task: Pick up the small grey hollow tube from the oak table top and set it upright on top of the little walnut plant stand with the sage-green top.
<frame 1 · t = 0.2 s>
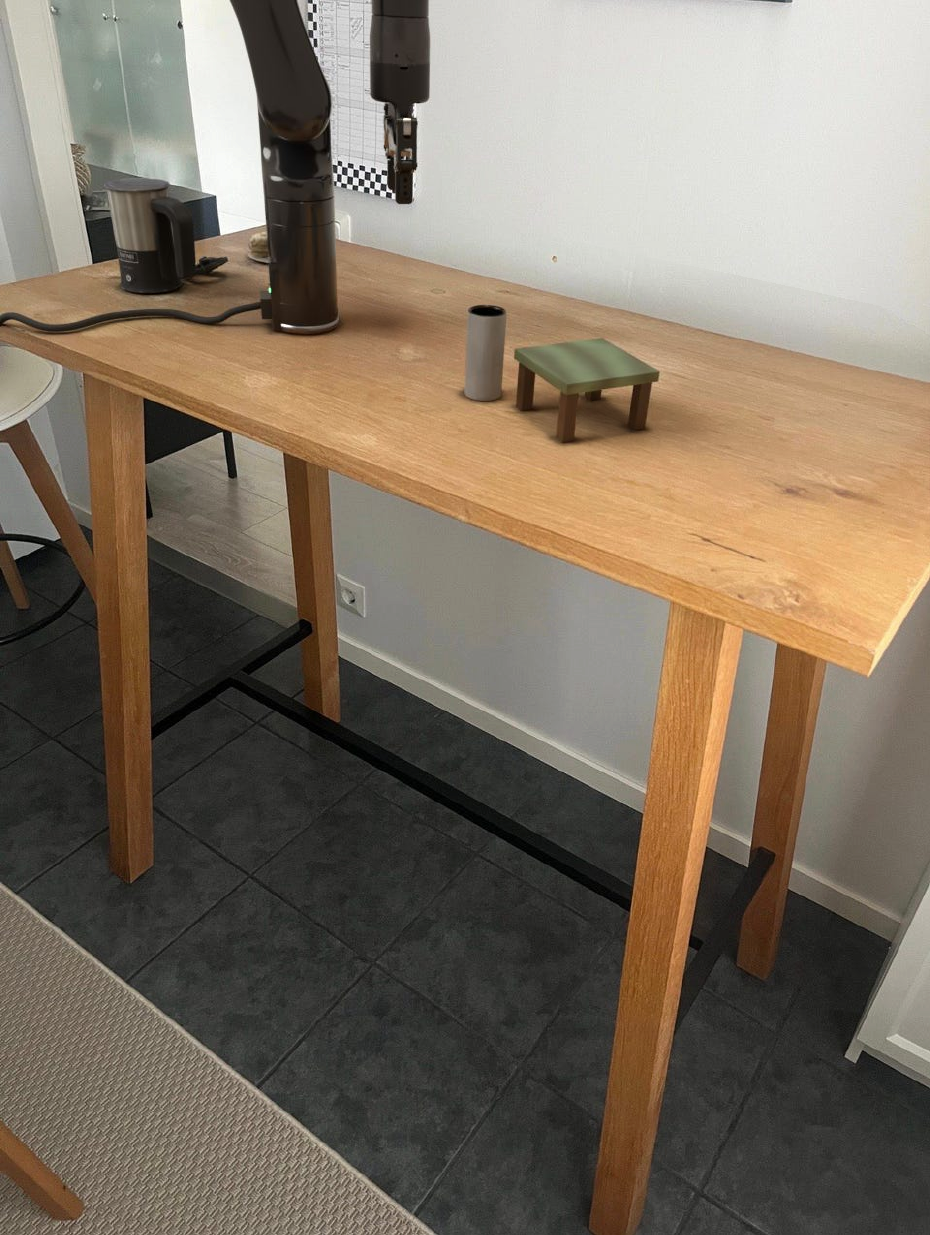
hand: (399, 196, 132), 17 cm above the table, tool pointing down, fingers open, 8 cm apart
plant stand: (579, 417, 116), on the table
milk frother: (176, 283, 154), on the table
grey hollow tube: (482, 396, 120), on the table
cake: (277, 259, 168), on the table
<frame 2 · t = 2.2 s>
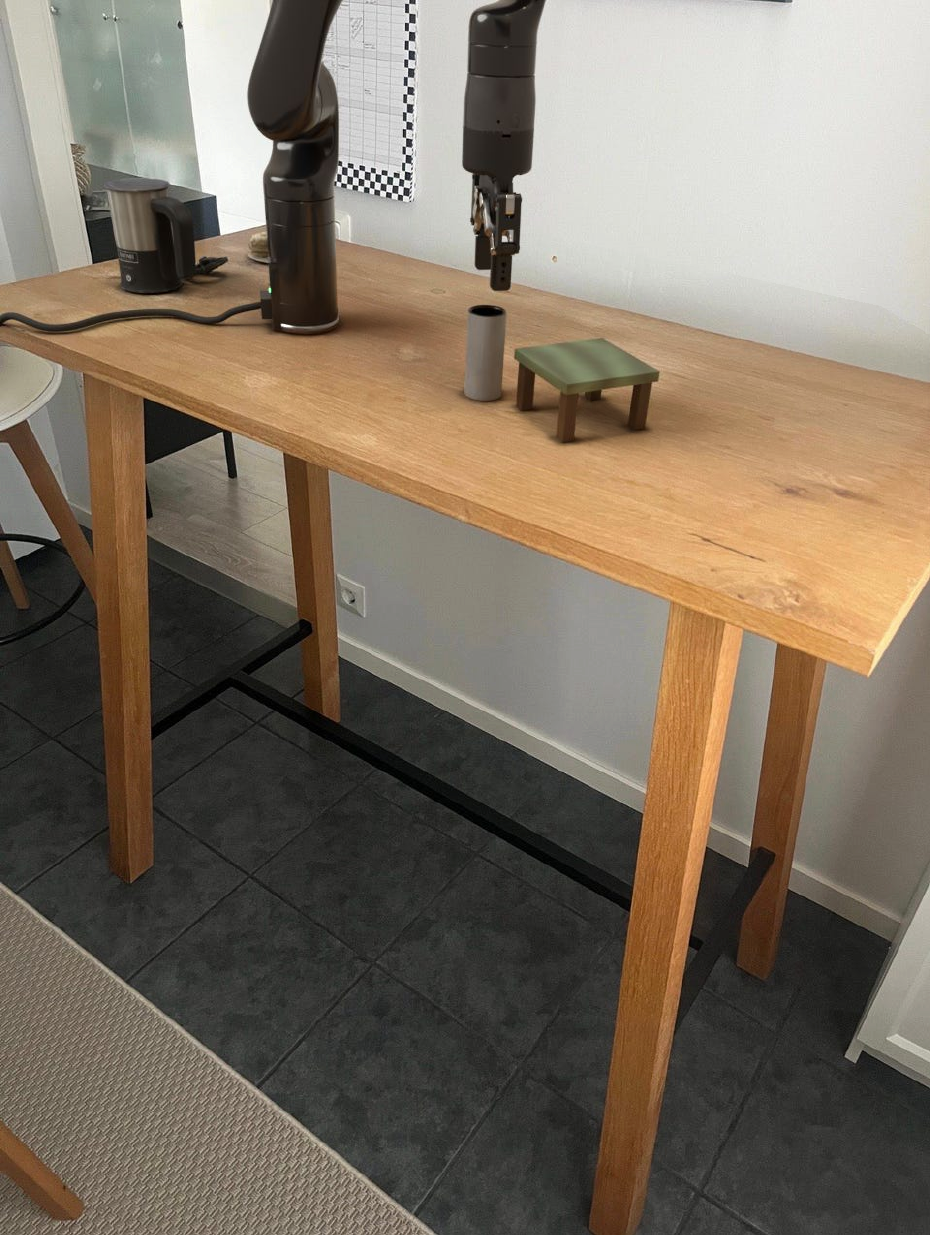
hand: (491, 279, 113), 14 cm above the table, tool pointing down, fingers open, 8 cm apart
nothing on the table moved.
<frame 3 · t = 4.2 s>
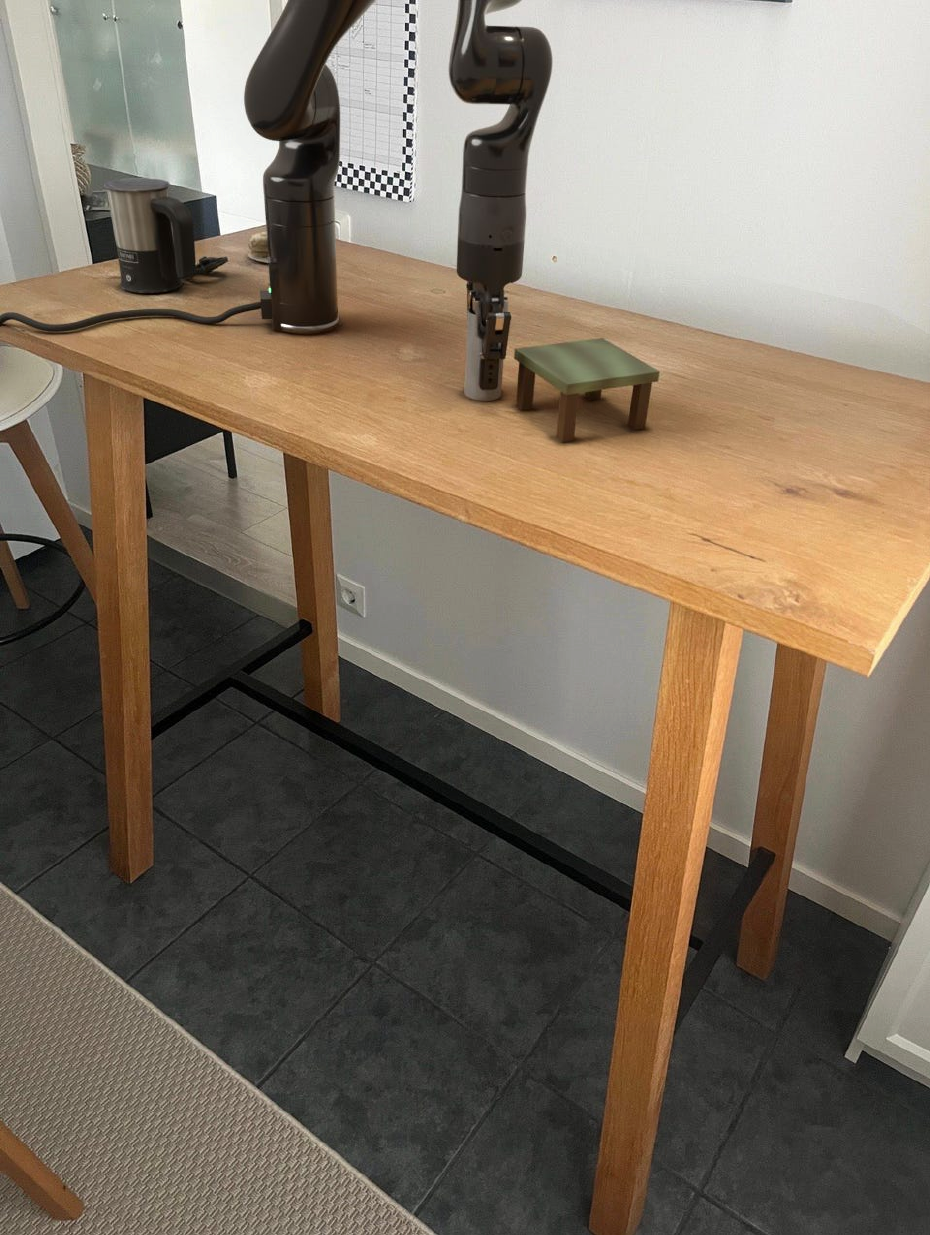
hand: (483, 380, 119), 2 cm above the table, tool pointing down, fingers closed on grey hollow tube, 4 cm apart
grey hollow tube: (482, 396, 120), on the table, touching gripper
everything else where it was.
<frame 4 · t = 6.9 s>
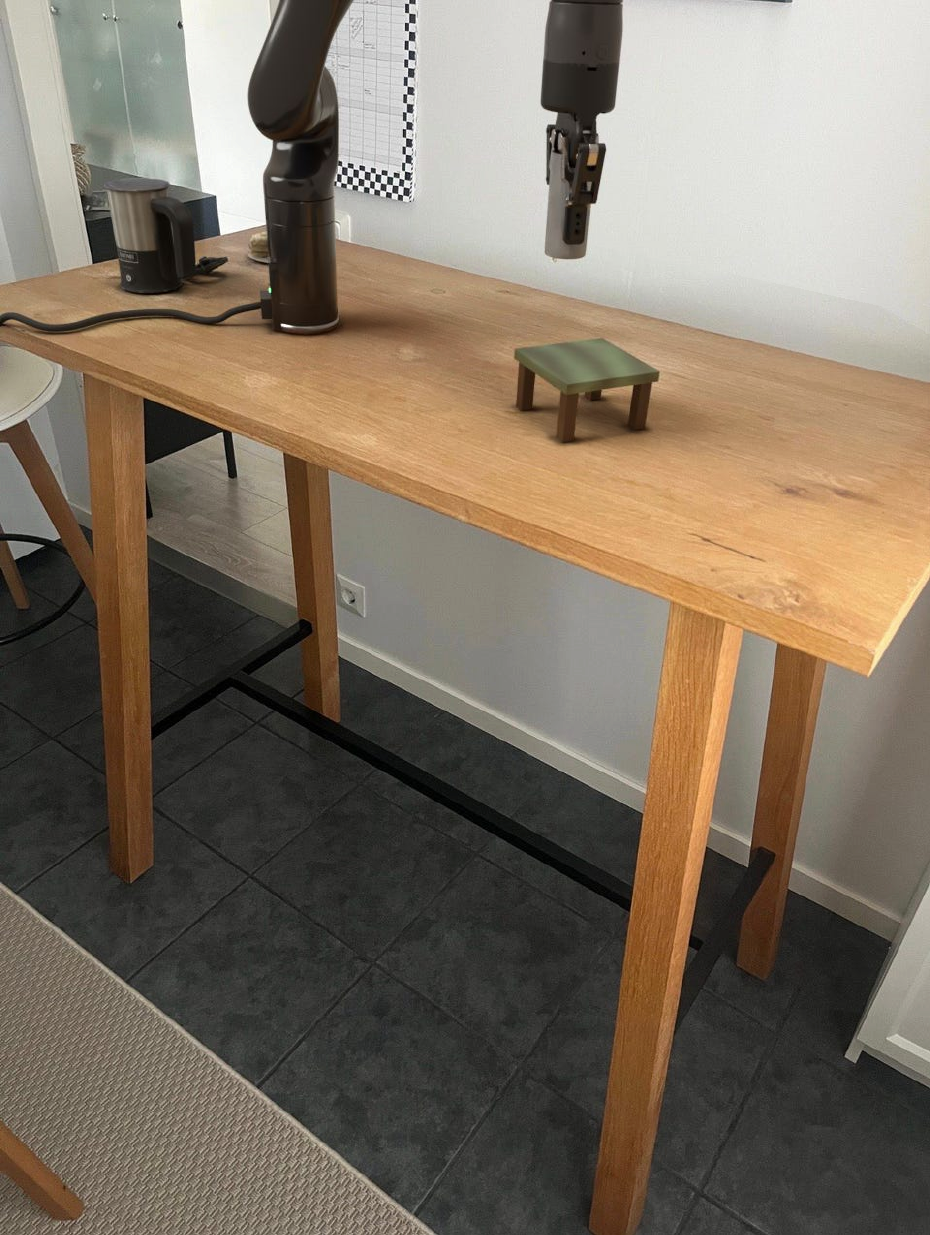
hand: (566, 237, 106), 20 cm above the table, tool pointing down, fingers closed on grey hollow tube, 4 cm apart
grey hollow tube: (564, 256, 107), point 18 cm above the table, touching gripper
everything else where it was.
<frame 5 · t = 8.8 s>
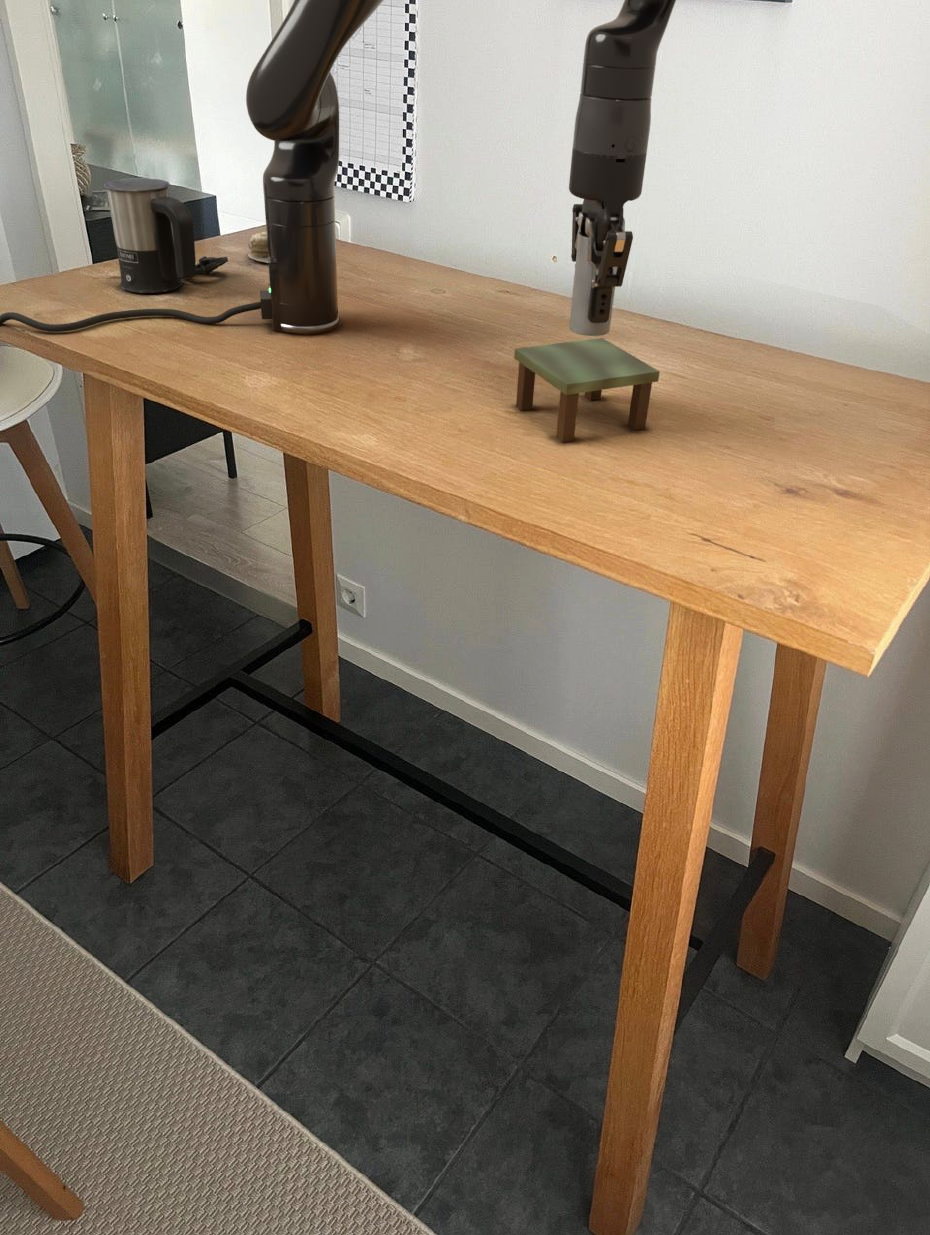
hand: (590, 313, 109), 12 cm above the table, tool pointing down, fingers closed on grey hollow tube, 4 cm apart
grey hollow tube: (588, 331, 110), point 10 cm above the table, touching gripper
everything else where it was.
when the fingers open (9 cm above the table, at t = 10.1 s): grey hollow tube stays where it is, resting on plant stand.
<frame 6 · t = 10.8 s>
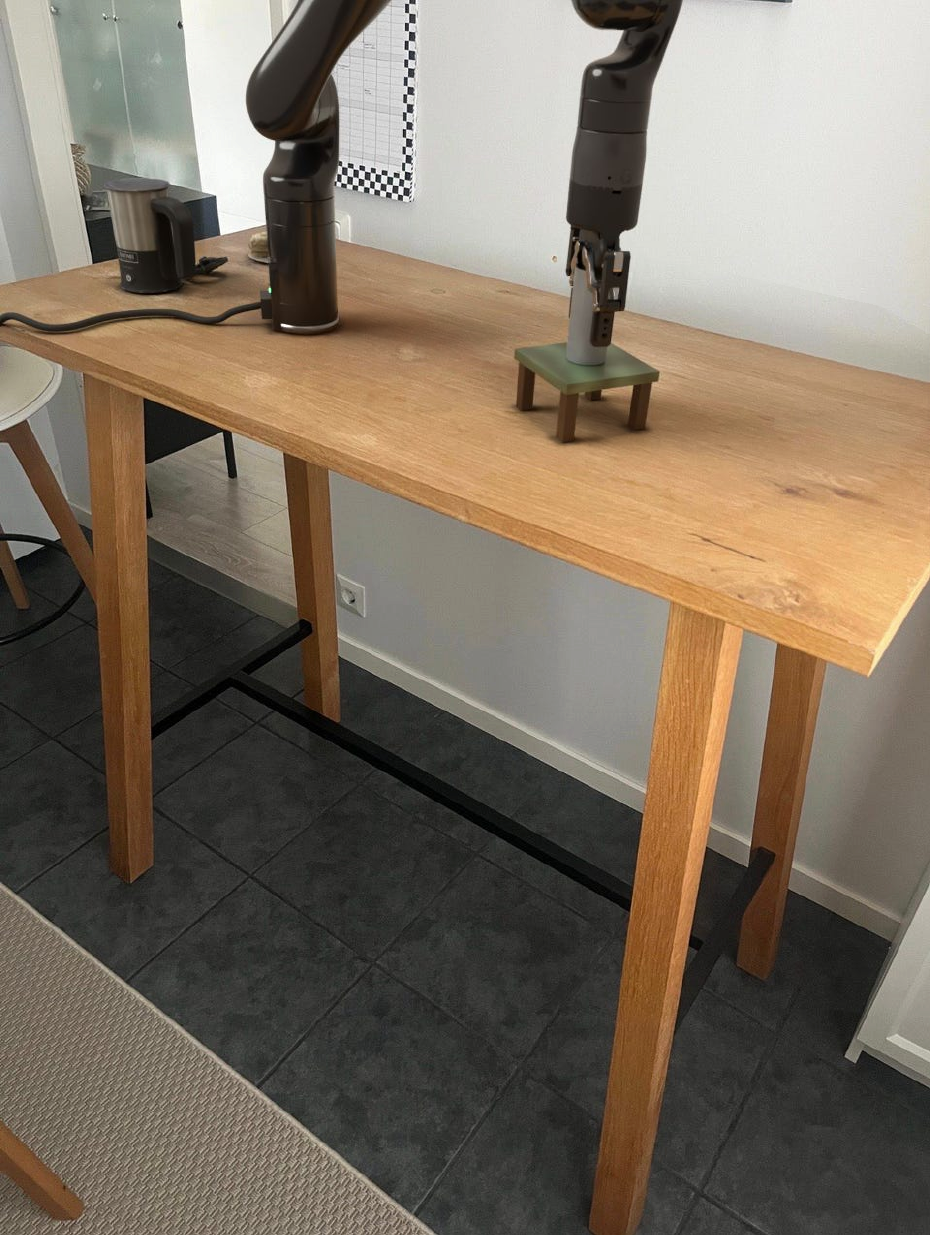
hand: (588, 332, 110), 10 cm above the table, tool pointing down, fingers open, 8 cm apart
grey hollow tube: (585, 360, 112), point 7 cm above the table, touching plant stand
everything else where it was.
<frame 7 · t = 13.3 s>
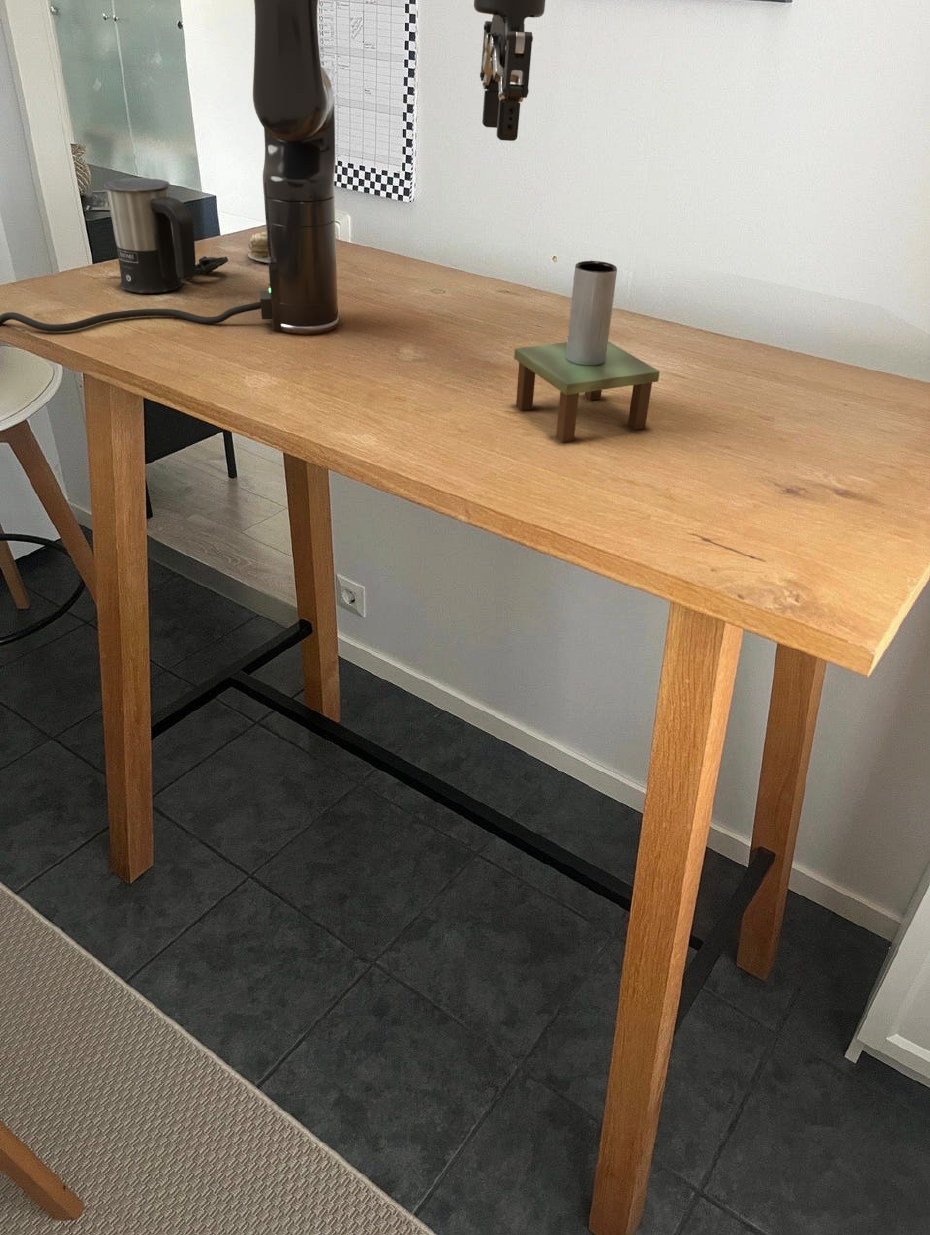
hand: (499, 133, 111), 28 cm above the table, tool pointing down, fingers open, 8 cm apart
nothing on the table moved.
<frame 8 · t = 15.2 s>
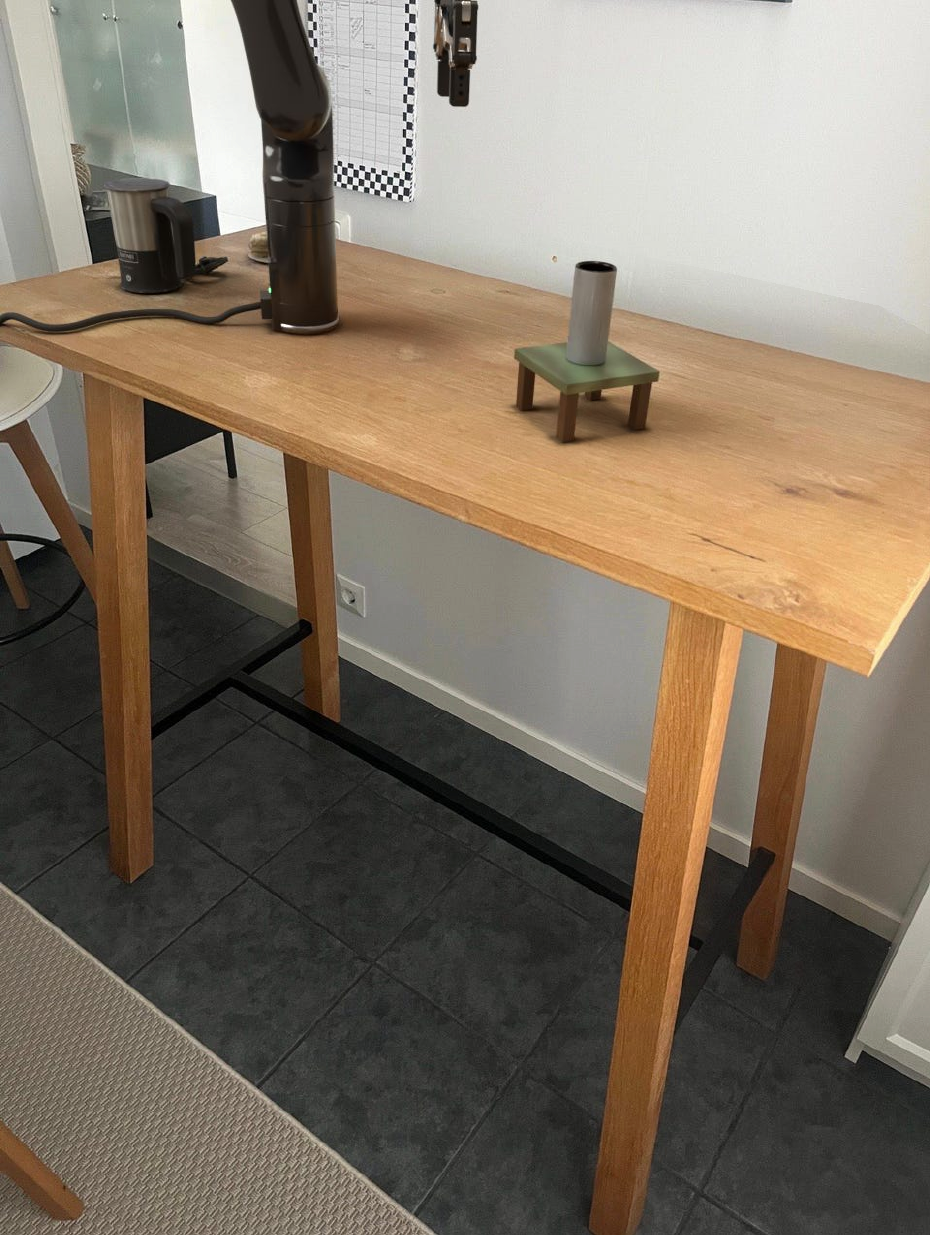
hand: (452, 101, 116), 30 cm above the table, tool pointing down, fingers open, 8 cm apart
nothing on the table moved.
at the end: grey hollow tube inside the target area on the plant stand (0.1 cm from its centre), point 6.8 cm above the plant stand's base; grey hollow tube tilted 0°; the gripper is holding nothing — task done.
